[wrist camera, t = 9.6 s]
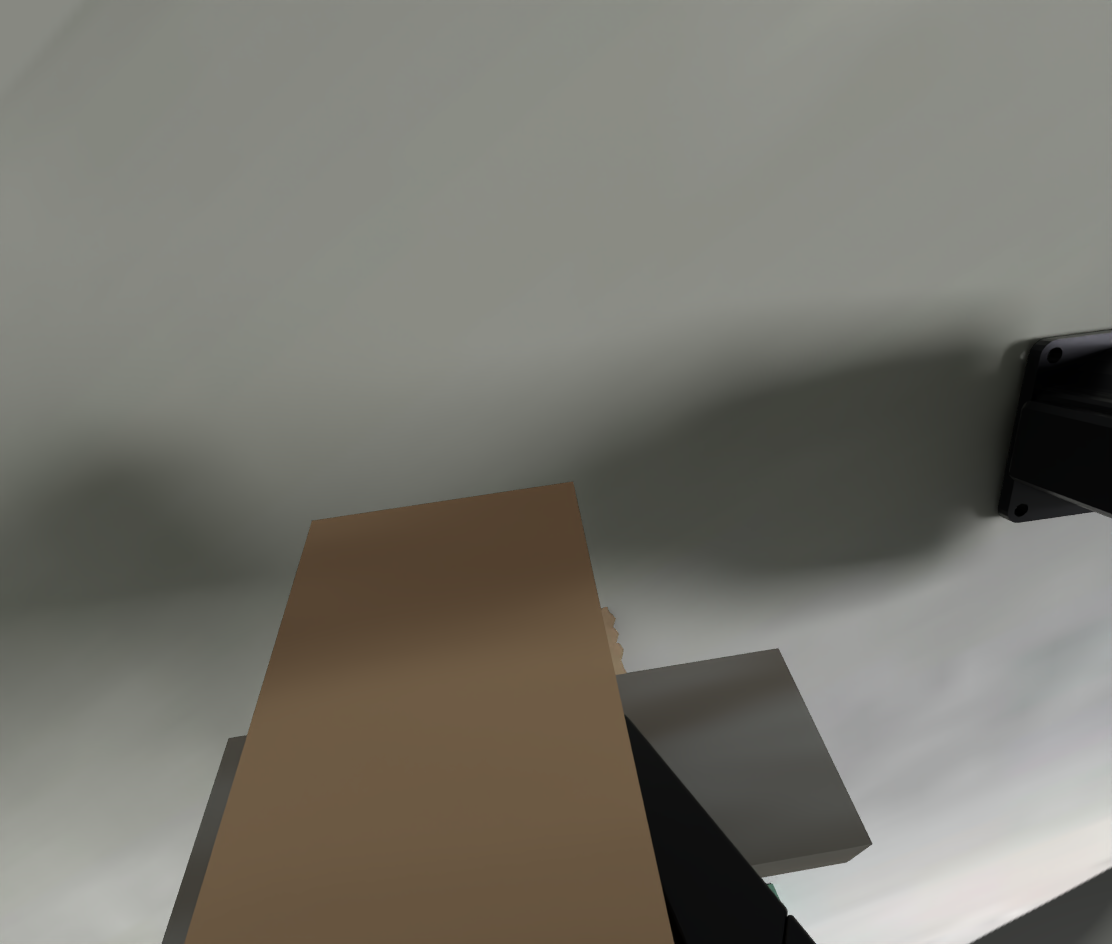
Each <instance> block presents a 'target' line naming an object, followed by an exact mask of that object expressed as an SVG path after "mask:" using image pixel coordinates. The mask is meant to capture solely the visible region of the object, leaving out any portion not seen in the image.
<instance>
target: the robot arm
mask: <svg viewBox="0 0 1112 944" xmlns="http://www.w3.org/2000/svg"><path fill="white" fill-rule="evenodd" d="M1049 351H1050V354H1049V357H1048V358H1047V355H1048V353H1049ZM1016 507H1017V508H1016ZM1089 512H1097V513H1099V514H1102V515H1104V516H1107V517H1110V518H1112V330H1106V331H1098V332H1090V333H1082V334H1075V335H1067V336H1059V337H1052V338H1045V339H1042V340H1040V341H1038V342H1037V343H1036V344H1034V346H1033V347H1032V348H1031V350H1030V352H1029V355H1028V359H1027V364H1026V369H1025V374H1024V379H1023V384H1022V390H1021V395H1020V400H1019V405H1018V410H1017V415H1016V420H1015V425H1014V430H1013V435H1012V440H1011V445H1010V450H1009V455H1008V460H1007V465H1006V470H1005V475H1004V480H1003V485H1002V490H1001V495H1000V500H999V505H998V513H999V515H1000V516H1001V517H1003V518H1005V519H1007V520H1010V521H1012V522H1015V523H1020V522H1027V521H1033V520H1040V519H1047V518H1054V517H1061V516H1068V515H1075V514H1082V513H1089ZM624 717H625V721H626V726H627V730H628V735H629V740H630V744H631V749H632V753H633V758H634V762H635V767H636V772H637V776H638V781H639V785H640V790H641V794H642V799H643V804H644V808H645V813H646V817H647V822H648V826H649V831H650V836H651V840H652V845H653V849H654V854H655V858H656V863H657V868H658V872H659V877H660V881H661V886H662V890H663V895H664V900H665V904H666V909H667V913H668V918H669V922H670V927H671V932H672V936H673V941H674V944H816V943H815V942H814V940H813V939H812V938H811V937H810V936H809V934H808V933H807V932H806V931H805V930H804V928H803V927H802V926H801V925H800V924H799V922H798V921H797V920H796V919H795V918H794V916H792V915H788V911H787V908H786V907H785V906H784V905H783V903H782V902H781V901H780V900H779V899H778V897H777V896H776V895H775V894H774V893H773V891H772V890H771V889H770V888H769V887H768V885H767V884H766V883H765V882H764V881H763V879H762V878H761V877H760V876H759V875H758V873H757V872H756V871H755V870H754V868H753V867H752V866H751V865H750V864H749V862H748V861H747V860H746V859H745V858H744V856H743V855H742V854H741V853H740V852H739V850H738V849H737V848H736V847H735V846H734V844H733V843H732V842H731V841H730V839H729V838H728V837H727V836H726V835H725V833H724V832H723V831H722V830H721V829H720V827H719V826H718V825H717V824H716V823H715V821H714V820H713V819H712V818H711V817H710V815H709V814H708V813H707V812H706V811H705V809H704V808H703V807H702V806H701V804H700V803H699V802H698V801H697V800H696V798H695V797H694V796H693V795H692V794H691V792H690V791H689V790H688V789H687V788H686V786H685V785H684V784H683V783H682V782H681V780H680V779H679V778H678V777H677V775H676V774H675V773H674V772H673V771H672V769H671V768H670V767H669V766H668V765H667V763H666V762H665V761H664V760H663V759H662V757H661V756H660V755H659V754H658V753H657V751H656V750H655V749H654V748H653V747H652V745H651V744H650V743H649V742H648V740H647V739H646V738H645V737H644V736H643V734H642V733H641V732H640V731H639V730H638V728H637V727H636V726H635V725H634V724H633V722H632V721H631V720H630V719H629V718H628V717H627V716H626V715H625V714H624ZM787 916H788V917H787Z"/></svg>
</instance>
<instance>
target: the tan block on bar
mask: <svg viewBox="0 0 1112 944" xmlns="http://www.w3.org/2000/svg"><path fill="white" fill-rule="evenodd" d="M624 714H625V715H626V716H627V717H628V718H629V719H630V720H631V721H632V722H633V724H634V725H635V726H636V727H637V728H638V730H639V731H640V732H641V733H642V734H643V736H644V737H645V738H646V739H647V740H648V742H649V743H650V744H651V745H652V747H653V748H654V749H655V750H656V751H657V753H658V754H659V755H660V756H661V757H662V759H663V760H664V761H665V762H666V763H667V765H668V766H669V767H670V768H671V769H672V771H673V772H674V773H675V774H676V775H677V777H678V778H679V779H680V780H681V782H682V783H683V784H684V785H685V786H686V788H687V789H688V790H689V791H690V792H691V794H692V795H693V796H694V797H695V798H696V800H697V801H698V802H699V803H700V804H701V806H702V807H703V808H704V809H705V811H706V812H707V813H708V814H709V815H710V817H711V818H712V819H713V820H714V821H715V823H716V824H717V825H718V826H719V827H720V829H721V830H722V831H723V832H724V833H725V835H726V836H727V837H728V838H729V839H730V841H731V842H732V843H733V844H734V846H735V847H736V848H737V849H738V850H739V852H740V853H741V854H742V855H743V856H744V858H745V859H746V860H747V861H748V862H749V864H750V865H751V866H752V867H753V868H754V870H755V871H756V872H757V873H758V875H759V876H760V877H761V878H762V877H767V876H773V875H779V874H784V873H790V872H795V871H801V870H807V869H812V868H818V867H823V866H829V865H835V864H840V863H846V862H848V861H850V860H851V859H852V858H854V857H855V856H856V855H858V854H859V853H861V852H862V851H863V850H865V849H866V848H868V847H869V846H870V845H872V842H871V840H870V838H869V836H868V834H867V832H866V830H865V827H864V825H863V823H862V821H861V819H860V817H859V815H858V813H857V811H856V809H855V807H854V805H853V802H852V800H851V798H850V796H849V794H848V792H847V790H846V788H845V786H844V784H843V782H842V780H841V778H840V775H839V773H838V771H837V769H836V767H835V765H834V763H833V761H832V759H831V757H830V755H829V753H828V750H827V748H826V746H825V744H824V742H823V740H822V738H821V736H820V734H819V732H818V730H817V728H816V726H815V723H814V721H813V719H812V717H811V715H810V713H809V711H808V709H807V707H806V705H805V703H804V701H803V698H802V696H801V694H800V692H799V690H798V688H797V686H796V684H795V682H794V680H793V678H792V676H791V674H790V671H789V669H788V667H787V665H786V663H785V661H784V659H783V657H782V655H781V653H780V651H779V649H778V648H777V649H771V650H765V651H759V652H753V653H747V654H740V655H734V656H728V657H722V658H716V659H710V660H704V661H698V662H692V663H685V664H679V665H673V666H667V667H661V668H655V669H649V670H643V671H637V672H630V673H624V674H618V675H615V671H614V667H613V662H612V657H611V653H610V648H609V644H608V639H607V635H606V630H605V625H604V621H603V616H602V612H601V607H600V603H599V598H598V593H597V589H596V584H595V580H594V575H593V571H592V566H591V561H590V557H589V552H588V548H587V543H586V539H585V534H584V529H583V525H582V520H581V516H580V511H579V507H578V502H577V497H576V493H575V488H574V484H573V482H566V483H560V484H553V485H546V486H540V487H533V488H527V489H520V490H513V491H507V492H500V493H493V494H487V495H480V496H473V497H467V498H460V499H453V500H447V501H440V502H433V503H427V504H420V505H413V506H407V507H400V508H394V509H387V510H380V511H374V512H367V513H360V514H354V515H347V516H340V517H334V518H327V519H320V520H314V521H312V522H311V526H310V529H309V532H308V536H307V539H306V542H305V546H304V549H303V552H302V556H301V559H300V562H299V565H298V569H297V572H296V575H295V579H294V582H293V585H292V589H291V592H290V595H289V599H288V602H287V605H286V608H285V612H284V615H283V618H282V622H281V625H280V628H279V632H278V635H277V638H276V642H275V645H274V648H273V651H272V655H271V658H270V661H269V665H268V668H267V671H266V675H265V678H264V681H263V685H262V688H261V691H260V694H259V698H258V701H257V704H256V708H255V711H254V714H253V718H252V721H251V724H250V728H249V731H248V734H247V735H246V736H239V737H233V738H229V739H228V742H227V745H226V748H225V751H224V754H223V757H222V760H221V763H220V766H219V770H218V773H217V776H216V779H215V782H214V785H213V788H212V791H211V794H210V797H209V800H208V803H207V806H206V809H205V812H204V816H203V819H202V822H201V825H200V828H199V831H198V834H197V837H196V840H195V843H194V846H193V849H192V852H191V855H190V858H189V861H188V865H187V868H186V871H185V874H184V877H183V880H182V883H181V886H180V889H179V892H178V895H177V898H176V901H175V904H174V907H173V911H172V914H171V917H170V920H169V923H168V926H167V929H166V932H165V935H164V938H163V941H162V944H674V941H673V936H672V932H671V927H670V922H669V918H668V913H667V909H666V904H665V900H664V895H663V890H662V886H661V881H660V877H659V872H658V868H657V863H656V858H655V854H654V849H653V845H652V840H651V836H650V831H649V826H648V822H647V817H646V813H645V808H644V804H643V799H642V794H641V790H640V785H639V781H638V776H637V772H636V767H635V762H634V758H633V753H632V749H631V744H630V740H629V735H628V730H627V726H626V721H625V717H624Z"/></svg>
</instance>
